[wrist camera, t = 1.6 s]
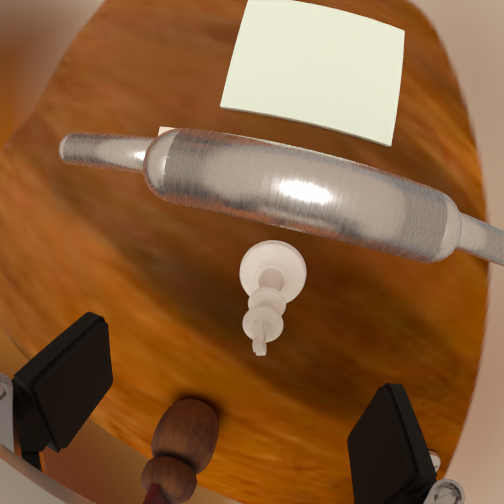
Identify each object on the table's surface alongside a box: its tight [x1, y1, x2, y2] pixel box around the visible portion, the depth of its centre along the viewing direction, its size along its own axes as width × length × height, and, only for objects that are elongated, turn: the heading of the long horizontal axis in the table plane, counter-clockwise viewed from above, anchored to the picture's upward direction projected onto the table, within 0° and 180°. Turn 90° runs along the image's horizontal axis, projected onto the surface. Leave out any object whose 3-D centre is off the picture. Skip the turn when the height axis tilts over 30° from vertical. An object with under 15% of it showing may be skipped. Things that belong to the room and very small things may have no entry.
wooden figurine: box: [141, 399, 219, 504], centre depth 19 cm, size 7×6×15 cm
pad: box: [220, 0, 405, 147], centre depth 17 cm, size 10×12×1 cm
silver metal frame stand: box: [59, 127, 504, 266], centre depth 12 cm, size 4×20×17 cm, turn 78°
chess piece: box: [240, 240, 307, 356], centre depth 17 cm, size 5×5×10 cm
